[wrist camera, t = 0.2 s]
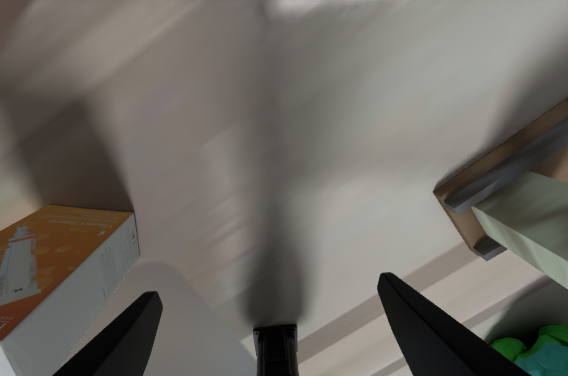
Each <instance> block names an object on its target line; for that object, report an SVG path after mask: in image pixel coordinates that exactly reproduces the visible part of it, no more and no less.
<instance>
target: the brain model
mask: <svg viewBox="0 0 568 376" xmlns="http://www.w3.org/2000/svg"><path fill="white" fill-rule="evenodd" d="M491 346H492V347H493V348H494V349H496V350H497V351H498V352H500V353H501V354H503V355H504V356H505V357H507V358H508V359H509V360H511V361H512V362H514V363H515V364H516V365H518V366H519V367H521V368H522V369H523V370H525V371H526V372H528V373H529V374H531V375H532V376H568V325H563V324H560V325H548V326H544V327H541V328H540V329H539V338H538V339H537V341H536V343H535V344H534V345H533V346H532V348H531V349H530V350H528V351H527V348H526V347H525V345H524V344H523V343H522V342H521V341H519V340H518V339H515V338H510V337H505V338H501V339H498V340H495V341H494V342H493V343H492V344H491Z"/></svg>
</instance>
